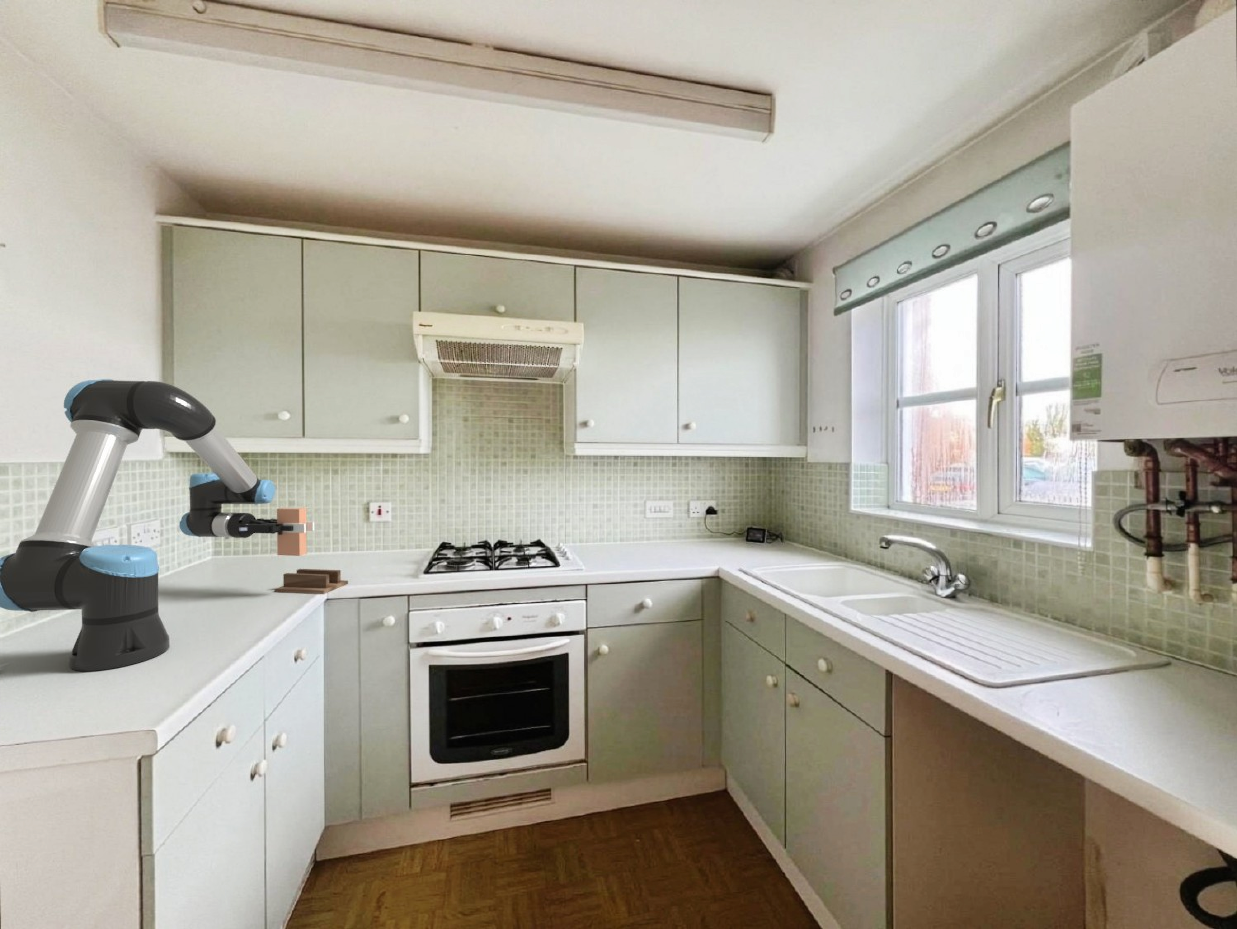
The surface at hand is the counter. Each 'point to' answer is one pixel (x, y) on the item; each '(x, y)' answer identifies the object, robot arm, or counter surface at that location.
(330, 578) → the slot rack
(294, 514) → the salmon orange block
